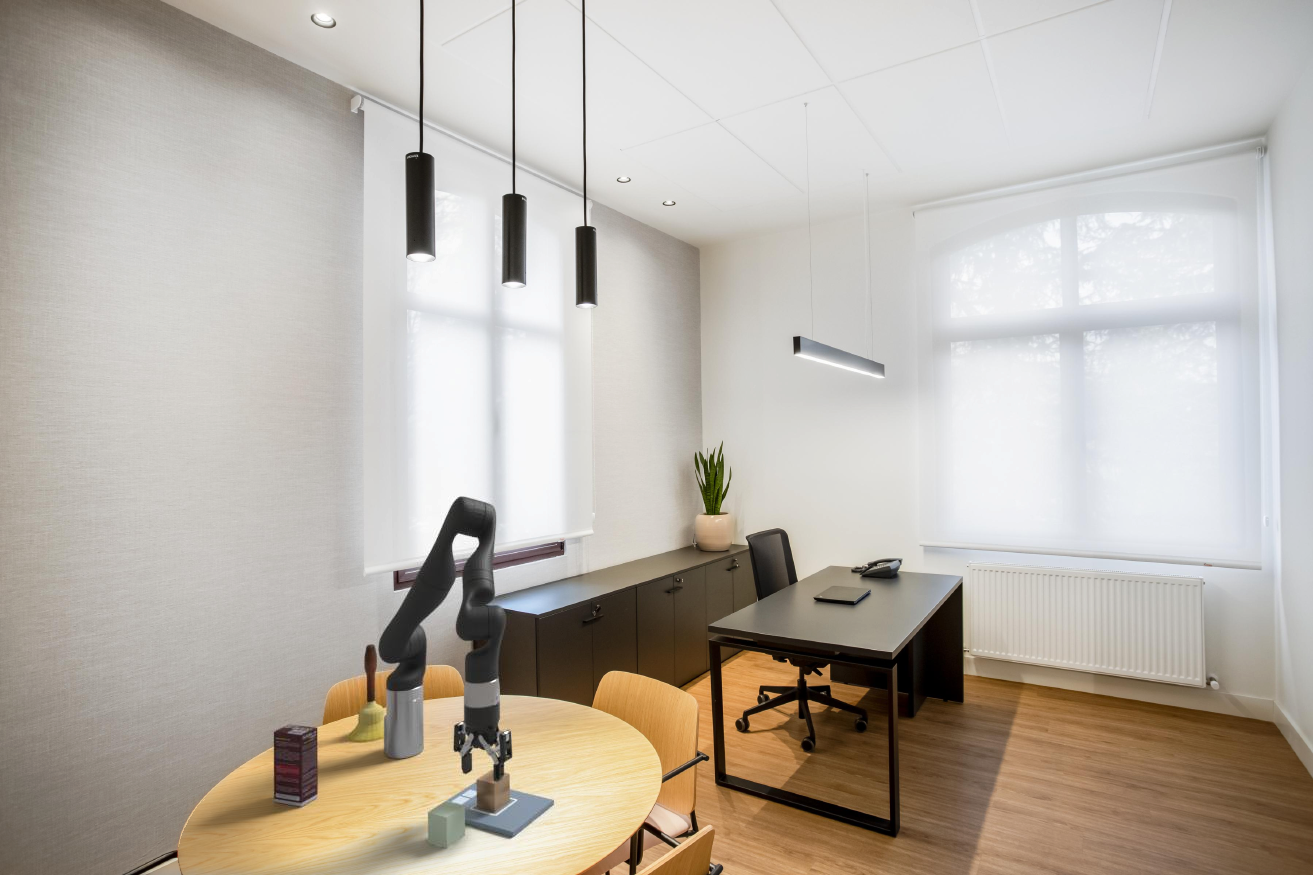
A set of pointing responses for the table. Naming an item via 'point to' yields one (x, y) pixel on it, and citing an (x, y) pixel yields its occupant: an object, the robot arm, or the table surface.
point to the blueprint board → (502, 811)
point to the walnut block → (492, 792)
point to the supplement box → (295, 765)
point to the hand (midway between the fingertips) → (482, 776)
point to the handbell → (369, 706)
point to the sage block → (446, 824)
